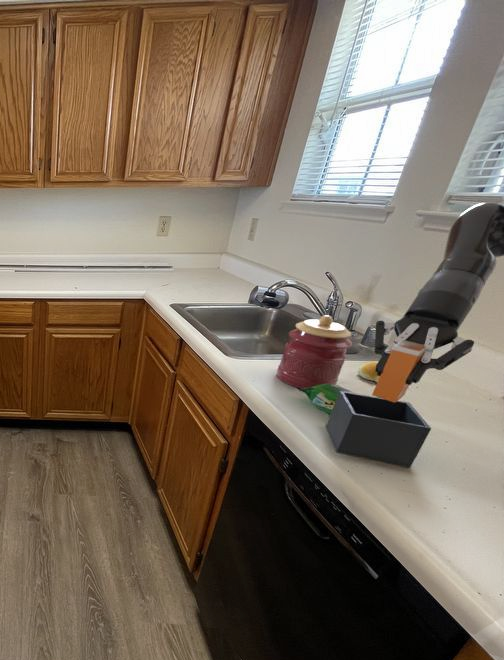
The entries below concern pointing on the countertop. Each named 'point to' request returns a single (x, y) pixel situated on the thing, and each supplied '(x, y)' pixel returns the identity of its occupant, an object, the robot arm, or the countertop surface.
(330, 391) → the snack package
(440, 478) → the countertop surface
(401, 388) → the drink carton
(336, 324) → the kitchen canister
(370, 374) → the bread roll
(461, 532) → the countertop surface
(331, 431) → the storage bin
